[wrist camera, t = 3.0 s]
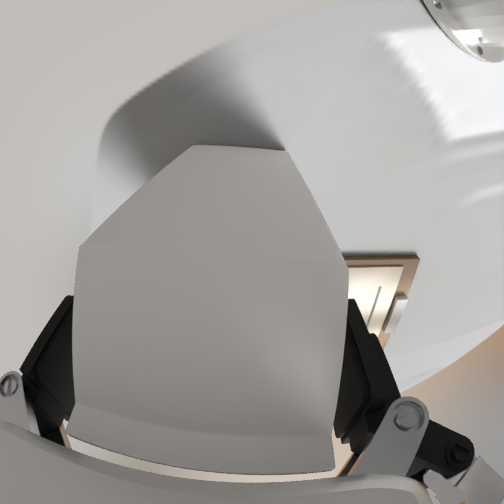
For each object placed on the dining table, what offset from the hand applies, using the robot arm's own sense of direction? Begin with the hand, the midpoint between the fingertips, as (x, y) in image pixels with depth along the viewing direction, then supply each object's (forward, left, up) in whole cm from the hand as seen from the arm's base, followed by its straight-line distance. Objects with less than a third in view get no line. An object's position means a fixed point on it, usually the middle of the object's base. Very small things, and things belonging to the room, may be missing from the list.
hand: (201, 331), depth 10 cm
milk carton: (0, 0, -14) cm, 14 cm away
